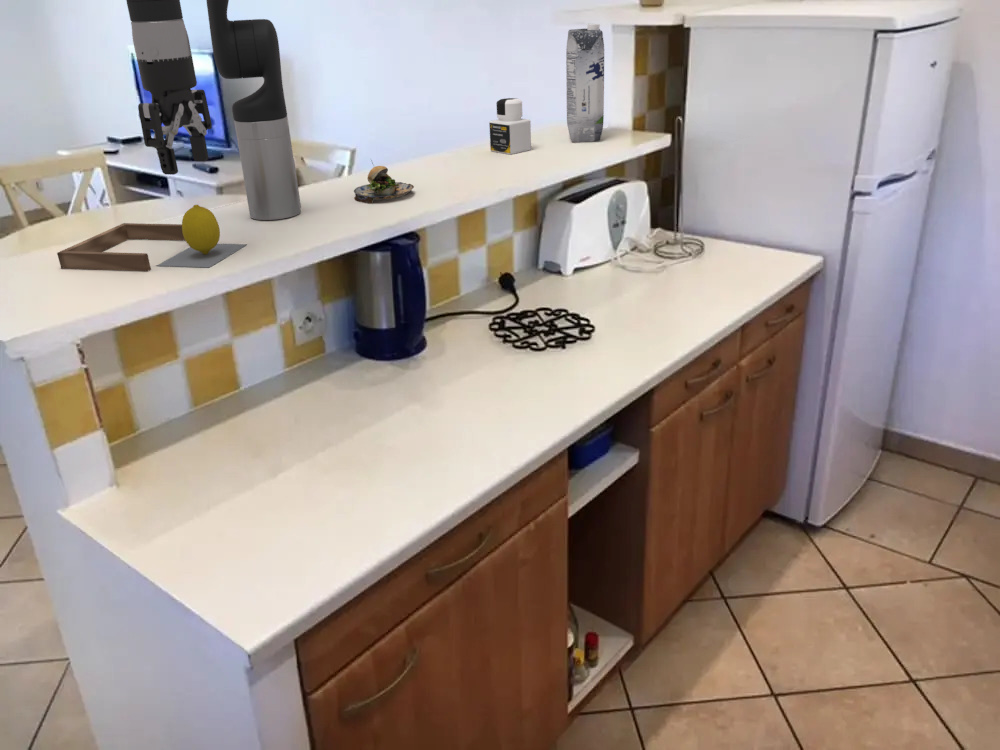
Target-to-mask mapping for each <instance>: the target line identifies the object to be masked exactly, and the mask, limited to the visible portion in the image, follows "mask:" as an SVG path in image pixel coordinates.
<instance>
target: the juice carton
mask: <svg viewBox="0 0 1000 750" xmlns="http://www.w3.org/2000/svg"><path fill="white" fill-rule="evenodd" d="M600 26H601V25H600V24H599V23H587V28H576V29H572V28H571V29H568V32H567V40H566V47H565V48H566V49H565V50H566V55H565V57H566V63H565V64H566V67H565V69H566V72H565V73H566V124H567V130H568V134H569V135H568V136H569V137H570V141H571V143H589V142H590V143H593V142H596V143H597V142H600V141H601V139H602V134H603V130H604V118H605V117H604V116H605V115H604V112H605V109H604V108H605V107H604V106H605V42H604V33H603V31H602V30H601V28H600Z"/></svg>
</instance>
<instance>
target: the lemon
mask: <svg viewBox="0 0 1000 750" xmlns="http://www.w3.org/2000/svg"><path fill="white" fill-rule="evenodd" d="M181 222H182V223H181V224H182V232H183V236H184V239H185V242H186V244H187V245H188V246H189V247H191V248H192V249H194V250H197V251H200V252H201V253H203V254H208V253H209V251H210V250H211V249H213V248H214V247H215V246H216V245H217V243H218V244H219V241H220V236H221V230H220V226H219V222H218V219H217V217H216V216H215V214H214V213H213V212H212V210H210V209H208V208H206V207H204V206H200V205H199V204H194V205H193V206H192V207H190V208H189V209H188V210H187V211H186V212H184V215H183V217H182V220H181Z"/></svg>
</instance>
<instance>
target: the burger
mask: <svg viewBox="0 0 1000 750" xmlns="http://www.w3.org/2000/svg"><path fill="white" fill-rule="evenodd" d="M370 160H371V161H370V162H371V163H372V165H373V167H372V168H371V169H370V170H369V172H368V175H367V182H368V183H369V184H364V185H361V186H358V187H356V188H355V189H354V190H353V193H354V194H355V195H354V198H353V199H354V201H355V202H358V203H364V204H371V205H372V204H373V203H374V200H390V199H396V198H400V197H402V196H406V195H407V194H409V192H411V191H412V190H413V189H414V188H415V185H413V184H411V183H407V182H401V181H398V182H396V180H395V179H394V178H392V177H391V176H390V175H389V174H388V171H389V169H388V168H387V167H386V166H384V165H377V166H375V165H374V162H373V160H372V159H370Z"/></svg>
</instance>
